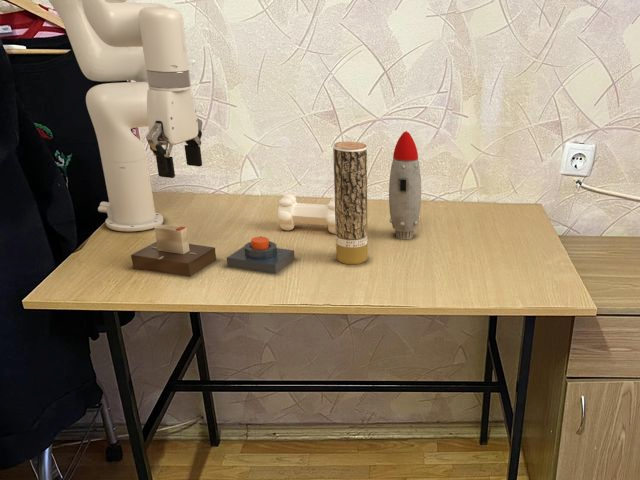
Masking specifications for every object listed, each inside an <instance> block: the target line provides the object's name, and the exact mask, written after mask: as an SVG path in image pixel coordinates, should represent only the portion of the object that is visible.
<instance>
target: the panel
mask: <svg viewBox="0 0 640 480" xmlns="http://www.w3.org/2000/svg"><path fill="white" fill-rule="evenodd" d="M189 250H190V251H189V252H187V253H185V254H178V253H171V252H164V251H158V249H157V242H156V241H155V242H153V243H151V244H149V245H147V246H145V247H143V248H141V249H139V250H137V251H135V252H134V253H132V254H131V255H130V257H131V262H132V268H133V269H134V270H140V271H150V272H157V273H163V274H169V275H173V276H174V275H175V276H182V277H188V278H192V277H193V276H194V275H196V274H197V273H199V272H200V271H202V270H203V269H205V268H206V267H208V266H210V265H212V264H213V263H214V262H216V261H217V254H216V247H214V246H207V245H200V244H193V243H189Z"/></svg>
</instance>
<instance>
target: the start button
mask: <svg viewBox="0 0 640 480" xmlns="http://www.w3.org/2000/svg"><path fill="white" fill-rule="evenodd" d="M269 241H270V239H269V238H268V237H266V236H255V237H252V238H251V239H250V242H251V246H252V248H253V249H267V248H269Z"/></svg>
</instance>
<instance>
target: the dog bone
mask: <svg viewBox="0 0 640 480" xmlns="http://www.w3.org/2000/svg"><path fill="white" fill-rule="evenodd" d="M277 201H278V202H277V205H278V210H277V215H276V217H277V220H278V222H279V227H280V229H282V230H284V231H293V229H294V228H295V226H296V225H297V224H306V225H307V224H308V225H309V224H311V225H322V226H323V225H325V226H327V230H328V232H329V233H331V234H333V235H334V234H335V235H336V225H335V196H334V197H332V198H331V199H330V200H329V202H328V203H327V204H318V203H303V202H297V197H296V196H295V195H294V194H293V193H285V194H283V195H282V196H281V198H280V199H279V200H277Z"/></svg>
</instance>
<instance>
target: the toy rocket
mask: <svg viewBox="0 0 640 480" xmlns="http://www.w3.org/2000/svg"><path fill="white" fill-rule="evenodd" d="M392 155H393V156H392V161H391V166H390V172H389V182H388V183H389V185H388V207H389V216H390V219H389V223H390V224H391V225H392V230H394V231H395V237H396V238H397V239H400V240H410V239H412V238H413V237H414V234H415V233H414V232H415V231H416V230H417V228H418V224H419V220H420V216H421V215H420V214H421V205H422V176H421V175H422V173H421V167H420V161H419V153H418V148H417V146H416V143H415V141H414V138H413V137H412V135H411V133H410V132H408V131H407V130H406V131H403V132H402V133H401V135H400V136H399V138H398V140H397V142H396V144H395V146H394V150H393V153H392Z"/></svg>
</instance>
